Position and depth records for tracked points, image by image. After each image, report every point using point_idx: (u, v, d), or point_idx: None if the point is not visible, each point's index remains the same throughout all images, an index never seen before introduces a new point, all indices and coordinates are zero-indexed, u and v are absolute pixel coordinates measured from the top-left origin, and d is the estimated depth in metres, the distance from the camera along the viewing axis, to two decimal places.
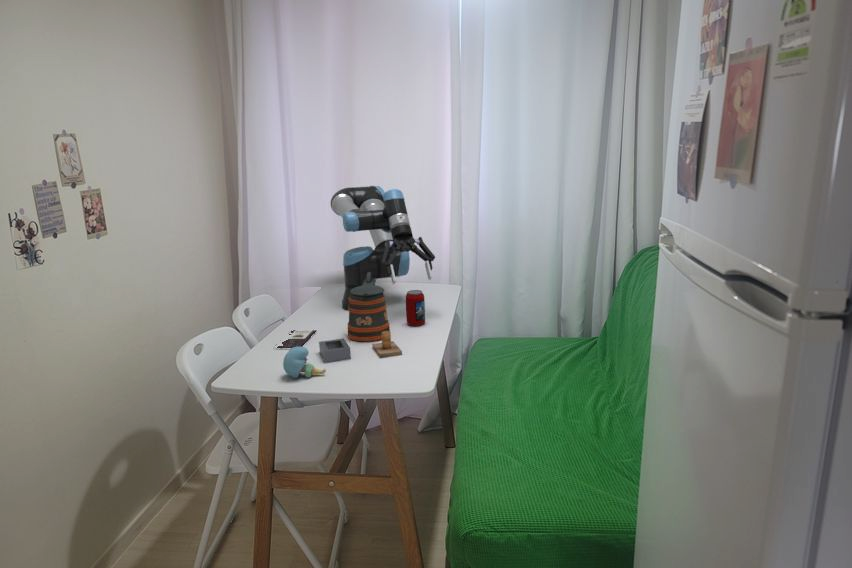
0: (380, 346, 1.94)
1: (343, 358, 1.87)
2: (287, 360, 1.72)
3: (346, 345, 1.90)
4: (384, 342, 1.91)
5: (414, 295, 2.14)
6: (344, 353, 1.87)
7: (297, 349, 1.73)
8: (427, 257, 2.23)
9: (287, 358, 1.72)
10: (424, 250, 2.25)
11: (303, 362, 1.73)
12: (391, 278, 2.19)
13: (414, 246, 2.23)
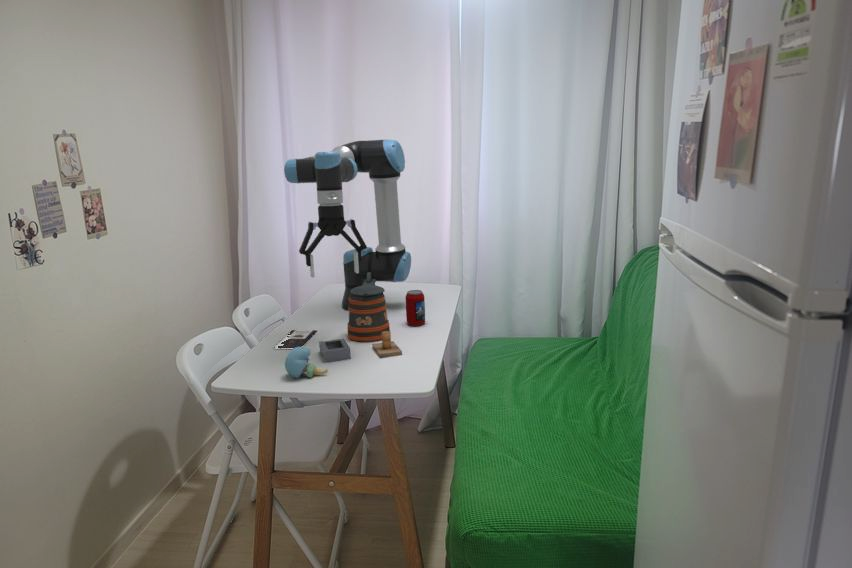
0: (380, 346, 1.94)
1: (343, 358, 1.87)
2: (289, 360, 1.72)
3: (346, 345, 1.90)
4: (384, 342, 1.91)
5: (414, 295, 2.14)
6: (344, 353, 1.87)
7: (299, 349, 1.73)
8: (357, 247, 1.86)
9: (289, 358, 1.72)
10: (355, 235, 1.86)
11: (305, 362, 1.73)
12: (310, 269, 1.84)
13: (343, 233, 1.83)
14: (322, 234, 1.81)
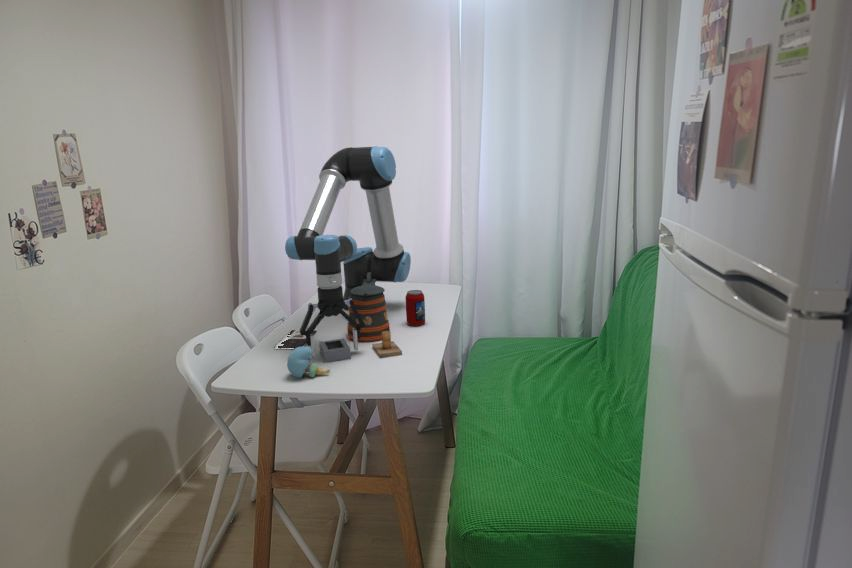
0: (380, 346, 1.94)
1: (343, 358, 1.87)
2: (291, 360, 1.72)
3: (346, 345, 1.90)
4: (384, 342, 1.91)
5: (414, 295, 2.14)
6: (344, 353, 1.87)
7: (301, 349, 1.73)
8: (356, 326, 1.90)
9: (291, 358, 1.72)
10: (354, 314, 1.90)
11: (307, 362, 1.73)
12: (310, 347, 1.89)
13: (342, 313, 1.87)
14: (322, 315, 1.85)
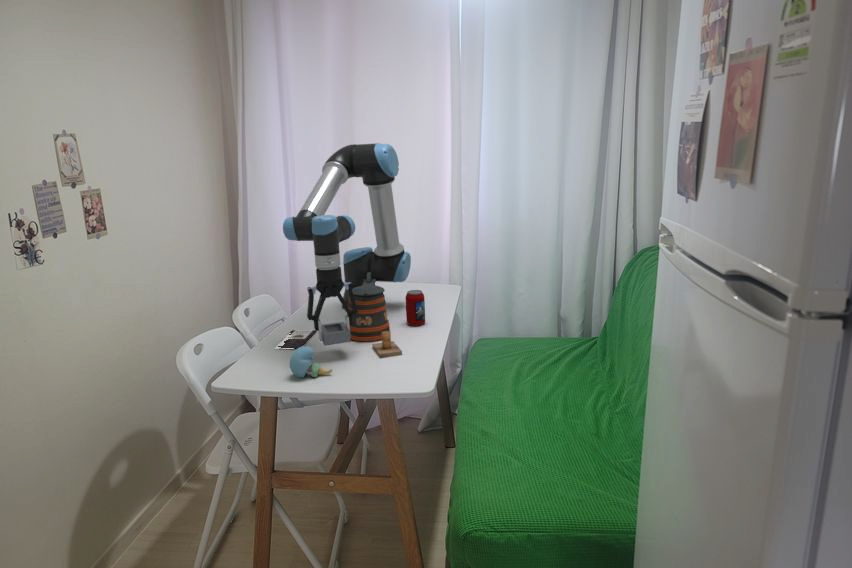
0: (380, 346, 1.94)
1: (343, 341, 1.86)
2: (294, 360, 1.72)
3: (346, 328, 1.89)
4: (384, 342, 1.91)
5: (414, 295, 2.14)
6: (344, 336, 1.86)
7: (303, 349, 1.73)
8: (348, 312, 1.89)
9: (294, 358, 1.72)
10: (349, 298, 1.89)
11: (309, 362, 1.73)
12: (318, 332, 1.90)
13: (339, 296, 1.86)
14: (323, 298, 1.85)
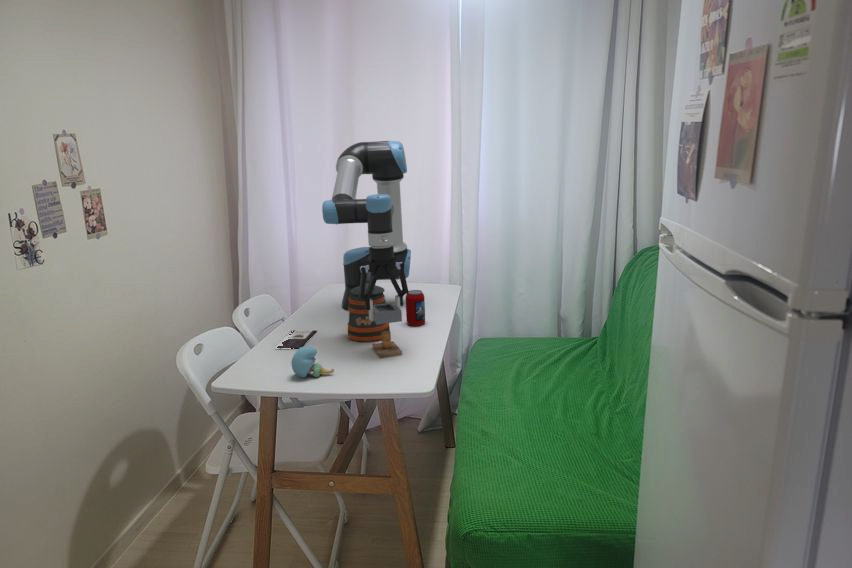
0: (380, 346, 1.94)
1: (394, 320, 1.86)
2: (296, 360, 1.72)
3: (396, 308, 1.89)
4: (384, 342, 1.91)
5: (414, 295, 2.14)
6: (395, 315, 1.86)
7: (305, 349, 1.73)
8: (400, 292, 1.89)
9: (296, 358, 1.72)
10: (400, 278, 1.90)
11: (311, 362, 1.73)
12: (369, 312, 1.90)
13: (391, 275, 1.86)
14: (375, 276, 1.85)
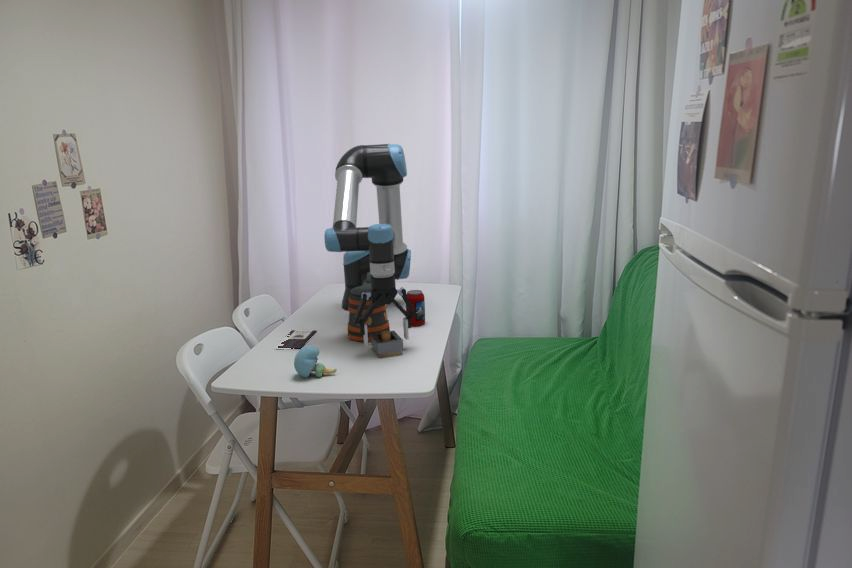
0: None
1: (396, 350, 1.89)
2: (298, 360, 1.72)
3: (398, 337, 1.91)
4: None
5: (414, 295, 2.14)
6: (397, 345, 1.89)
7: (308, 348, 1.73)
8: (407, 315, 1.92)
9: (298, 358, 1.72)
10: (405, 303, 1.92)
11: (314, 362, 1.73)
12: None
13: (395, 302, 1.89)
14: (375, 304, 1.87)
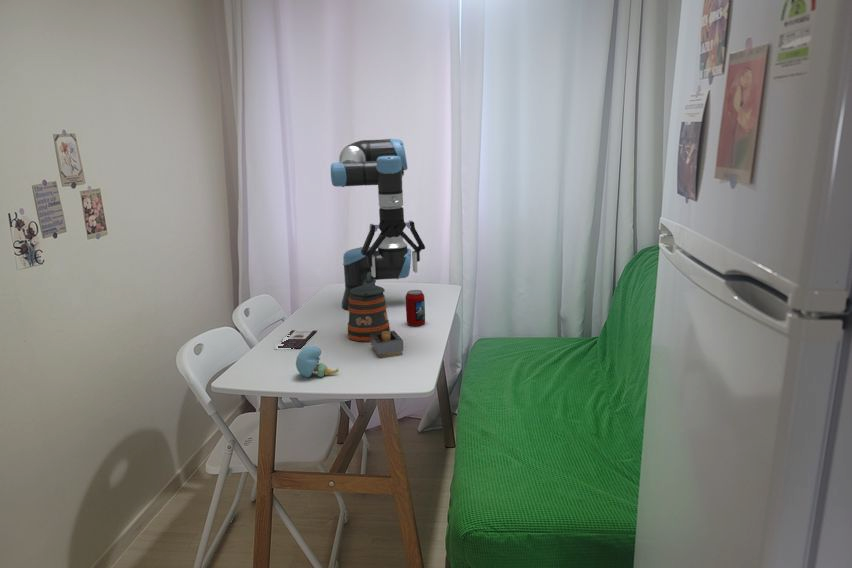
0: None
1: (396, 350, 1.89)
2: (300, 360, 1.72)
3: (398, 337, 1.91)
4: None
5: (414, 295, 2.14)
6: (397, 345, 1.89)
7: (310, 348, 1.73)
8: (416, 248, 1.92)
9: (300, 358, 1.72)
10: (414, 236, 1.93)
11: (316, 361, 1.73)
12: (371, 268, 1.92)
13: (403, 235, 1.90)
14: (383, 236, 1.88)
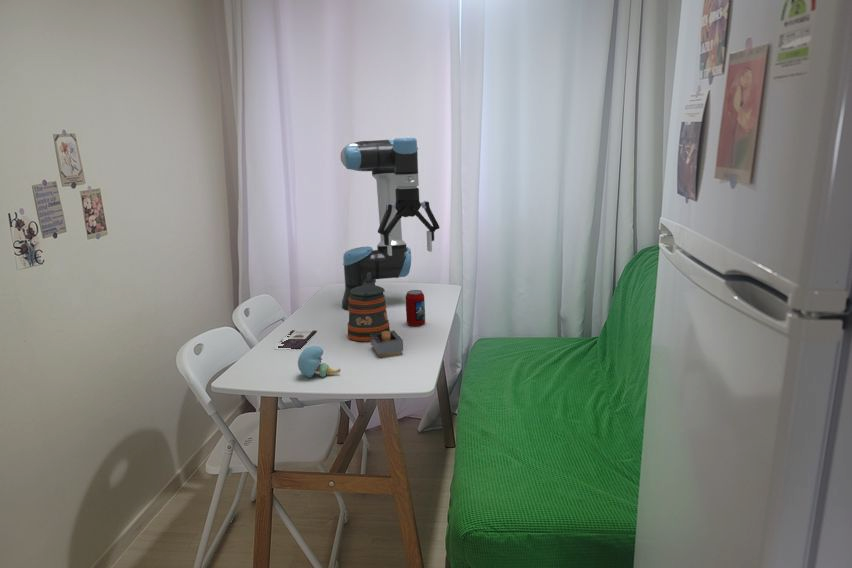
0: None
1: (396, 350, 1.89)
2: (302, 359, 1.72)
3: (398, 337, 1.91)
4: None
5: (414, 295, 2.14)
6: (397, 345, 1.89)
7: (312, 348, 1.73)
8: (431, 227, 1.98)
9: (302, 358, 1.72)
10: (429, 216, 1.99)
11: (318, 361, 1.73)
12: (387, 248, 1.98)
13: (419, 214, 1.96)
14: (400, 215, 1.94)
